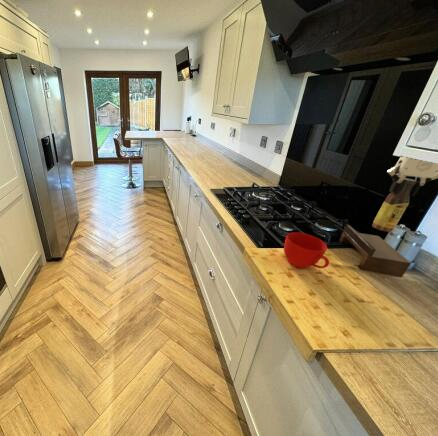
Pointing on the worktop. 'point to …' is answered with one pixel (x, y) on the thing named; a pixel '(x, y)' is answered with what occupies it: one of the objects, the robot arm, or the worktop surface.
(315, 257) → the ceramic cup
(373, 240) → the brown wooden stand
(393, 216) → the sauce bottle
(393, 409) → the worktop surface
